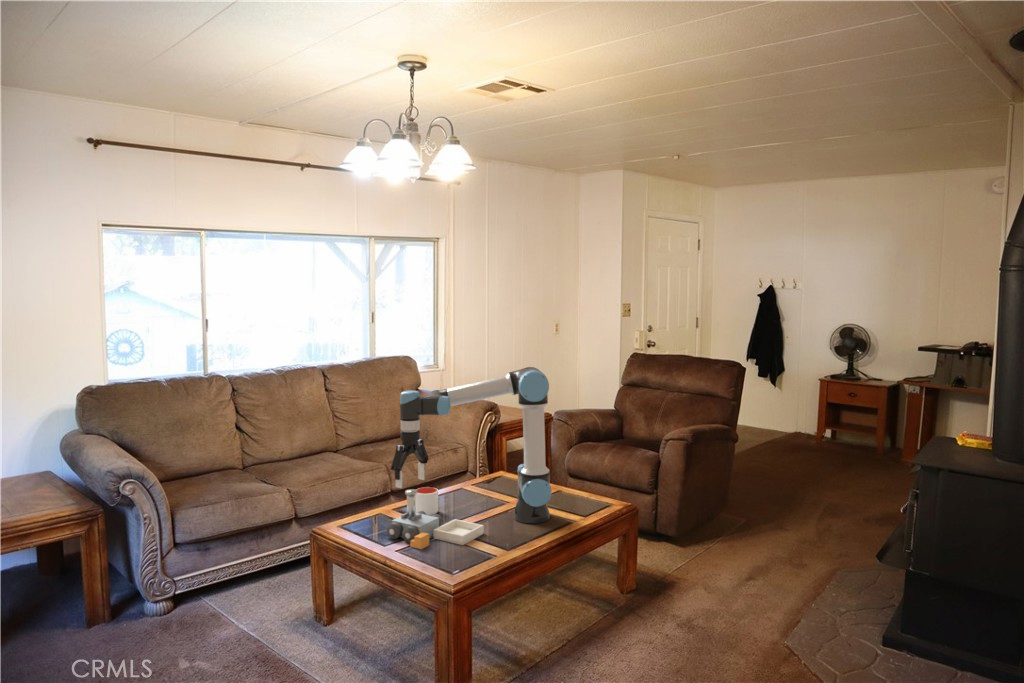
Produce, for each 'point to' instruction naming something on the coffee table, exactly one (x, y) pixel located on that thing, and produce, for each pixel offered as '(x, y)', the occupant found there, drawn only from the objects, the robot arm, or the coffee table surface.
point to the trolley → (414, 526)
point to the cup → (427, 500)
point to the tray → (458, 531)
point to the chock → (420, 541)
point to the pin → (411, 503)
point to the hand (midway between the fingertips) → (410, 483)
